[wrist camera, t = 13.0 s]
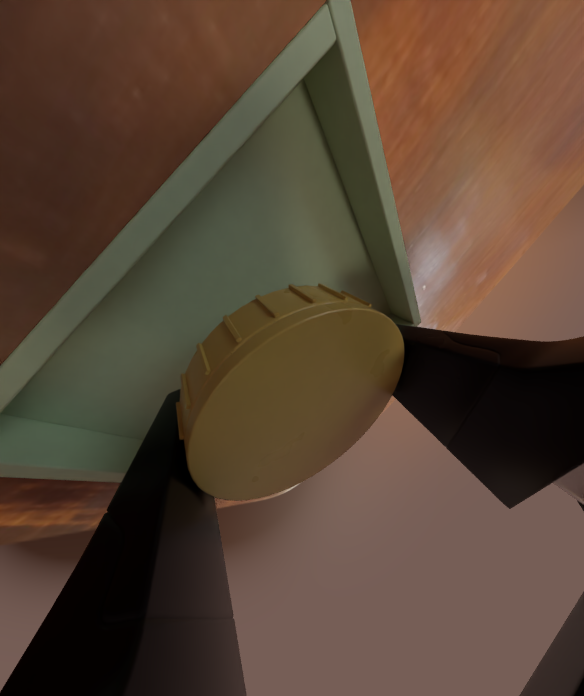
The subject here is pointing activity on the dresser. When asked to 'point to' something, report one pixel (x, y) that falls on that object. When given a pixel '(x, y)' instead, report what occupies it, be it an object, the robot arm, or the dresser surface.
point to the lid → (285, 389)
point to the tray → (213, 259)
